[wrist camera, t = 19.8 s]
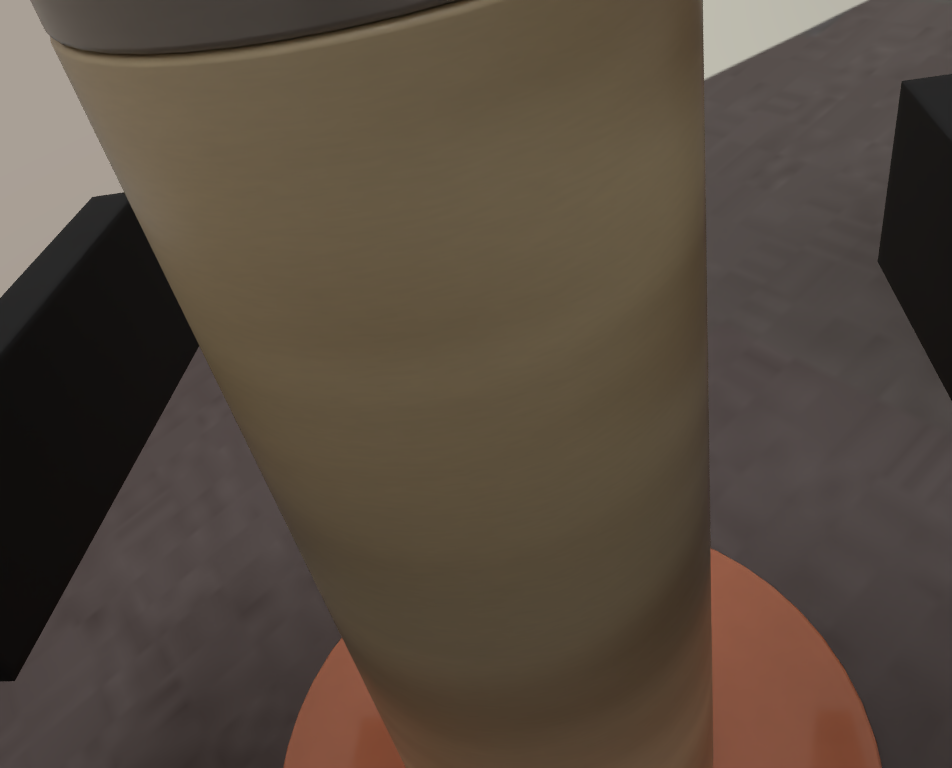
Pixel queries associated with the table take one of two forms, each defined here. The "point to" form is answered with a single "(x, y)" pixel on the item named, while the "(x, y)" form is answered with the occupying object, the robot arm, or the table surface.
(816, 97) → the table surface
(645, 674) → the pepper mill
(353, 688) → the coaster
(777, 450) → the table surface
